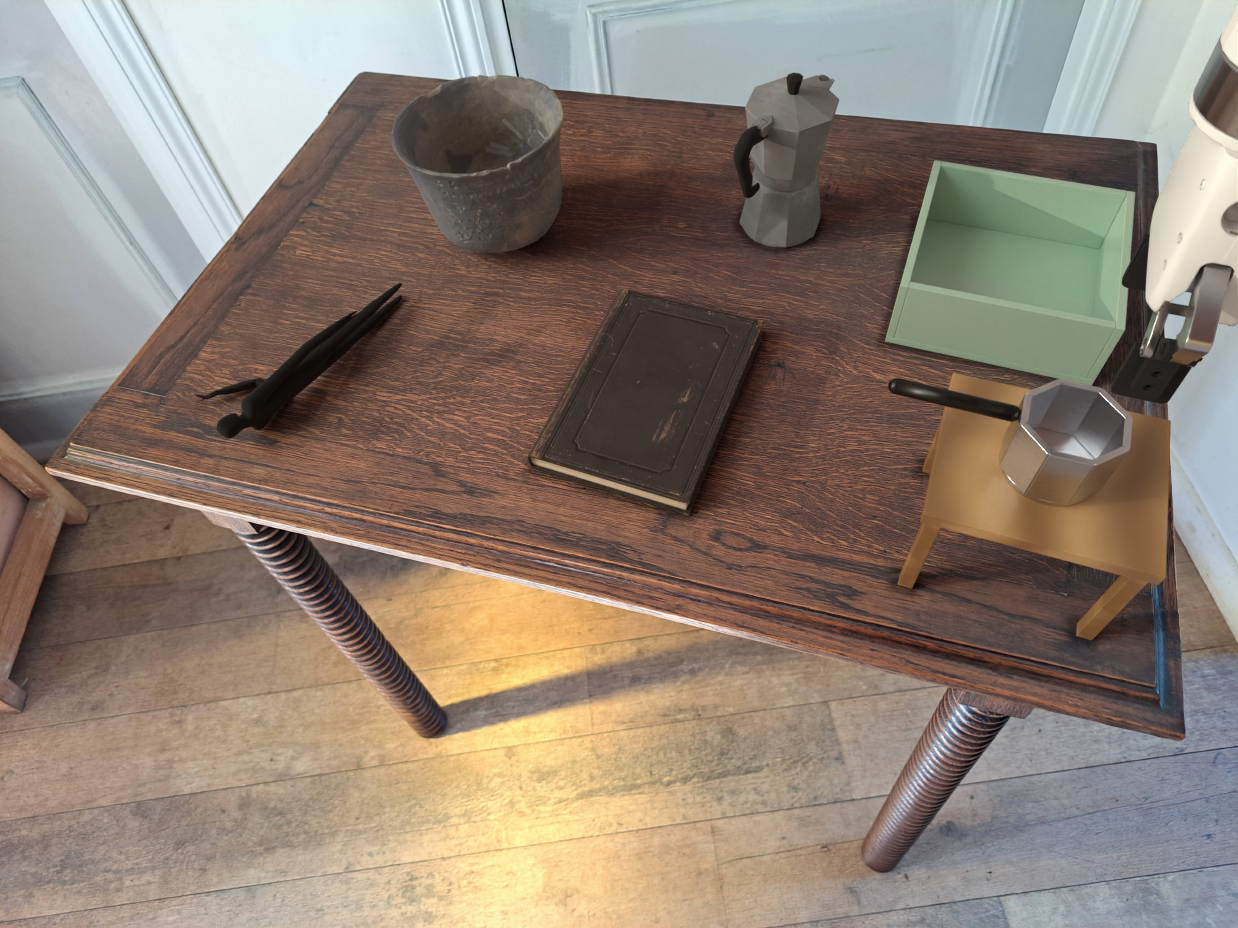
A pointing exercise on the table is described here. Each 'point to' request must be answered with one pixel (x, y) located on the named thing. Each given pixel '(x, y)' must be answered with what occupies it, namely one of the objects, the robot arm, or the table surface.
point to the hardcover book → (649, 400)
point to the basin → (1017, 272)
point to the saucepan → (1048, 436)
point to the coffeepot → (784, 158)
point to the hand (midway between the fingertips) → (1142, 339)
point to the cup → (485, 159)
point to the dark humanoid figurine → (301, 367)
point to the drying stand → (1082, 533)
